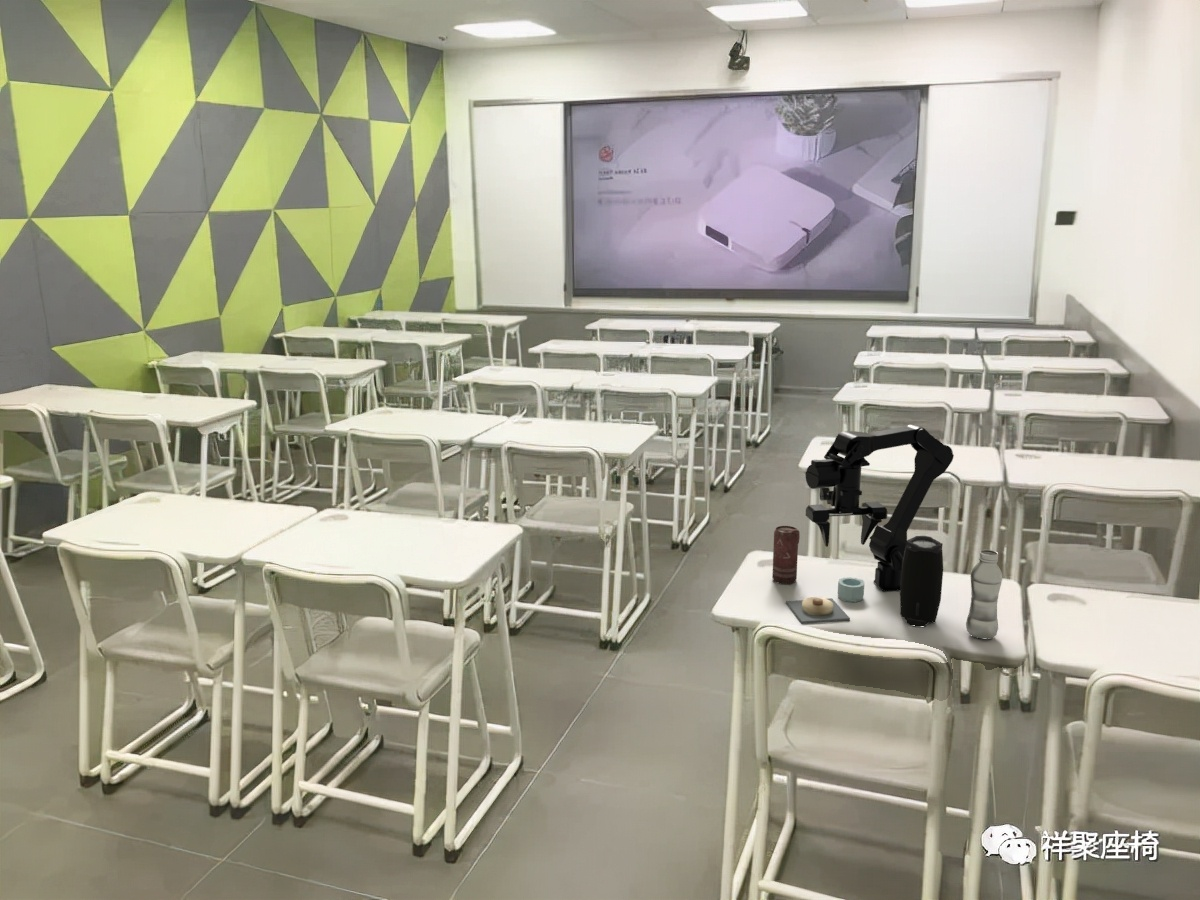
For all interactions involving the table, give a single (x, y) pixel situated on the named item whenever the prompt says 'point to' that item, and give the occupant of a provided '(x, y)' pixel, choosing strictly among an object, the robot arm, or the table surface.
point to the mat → (807, 618)
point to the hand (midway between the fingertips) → (844, 545)
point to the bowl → (850, 589)
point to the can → (785, 554)
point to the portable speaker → (921, 580)
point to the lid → (817, 606)
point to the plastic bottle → (984, 596)
